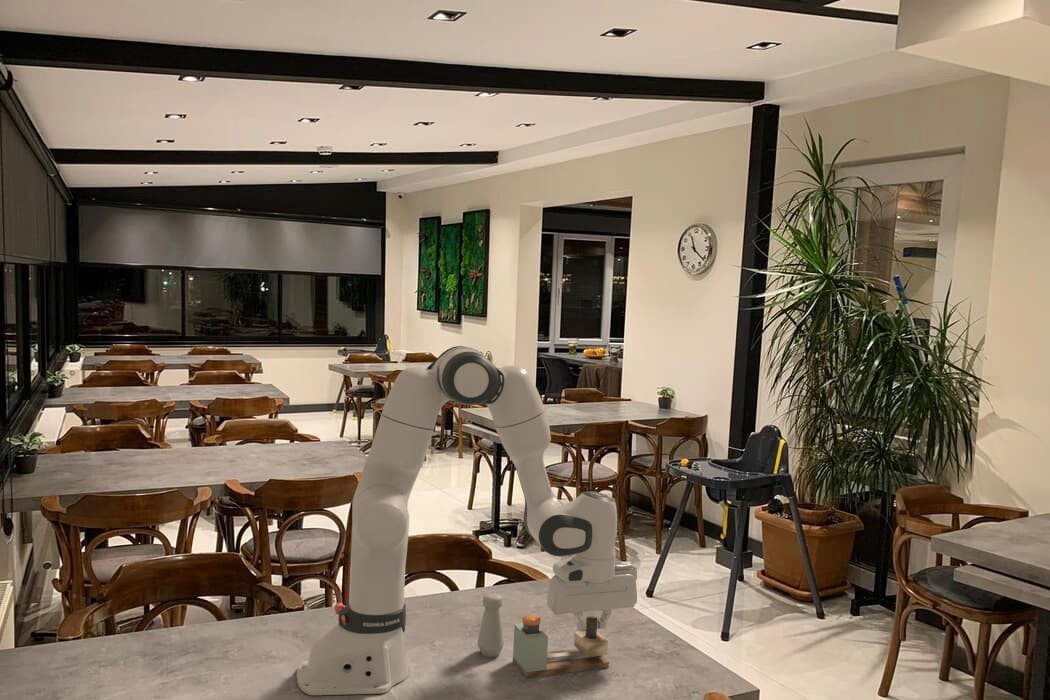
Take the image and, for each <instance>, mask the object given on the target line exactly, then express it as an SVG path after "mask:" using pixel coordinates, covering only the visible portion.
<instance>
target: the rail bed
mask: <svg viewBox="0 0 1050 700" xmlns="http://www.w3.org/2000/svg"><path fill="white" fill-rule="evenodd" d="M512 662H513V663H514V665H515V666H516V667H517V669H518V670H519V671H520V672H521V674H522V675H523V676H525V677H524V678H525V679H527V678H528V677H529V678H536V677H544V676H551V675H560V674H561V675H562V674H569V673H577V672H584V671H585V672H586V671H593V670H599V669H608V668H609V667H610V666H609V665H610V661H608V660H607V659H606V658H605V657H604V655H601V656H592V657H585V656H584V655H583V654H582V653H581V652H580V651H579V650H578V649H577V648H571V649H561V650H552V651H547V669H546V670H540V671H532V672H525V671H524V669H523V668H522V667H521V665H520V664H519V663H518V662H517V660H516V659H515V658H514V656H513V655H512ZM529 678H528V679H529Z"/></svg>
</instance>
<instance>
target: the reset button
mask: <svg viewBox="0 0 1050 700" xmlns="http://www.w3.org/2000/svg"><path fill="white" fill-rule="evenodd" d="M522 623H523V631H524V632H525V634H535V633H539V628H540V625H541V617H540V616H539V615H534V614H527V615H524V616H522Z"/></svg>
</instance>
